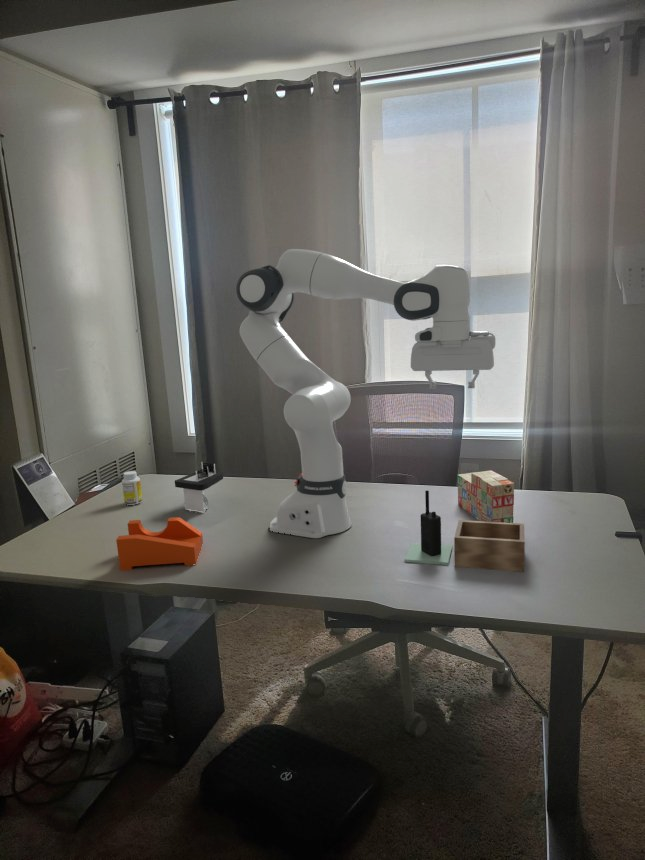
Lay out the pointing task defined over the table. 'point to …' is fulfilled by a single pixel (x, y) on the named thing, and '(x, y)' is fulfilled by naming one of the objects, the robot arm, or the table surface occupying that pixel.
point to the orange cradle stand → (159, 544)
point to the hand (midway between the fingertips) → (452, 388)
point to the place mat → (421, 557)
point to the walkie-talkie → (430, 531)
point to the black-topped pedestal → (198, 486)
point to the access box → (489, 545)
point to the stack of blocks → (486, 496)
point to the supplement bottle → (131, 488)
